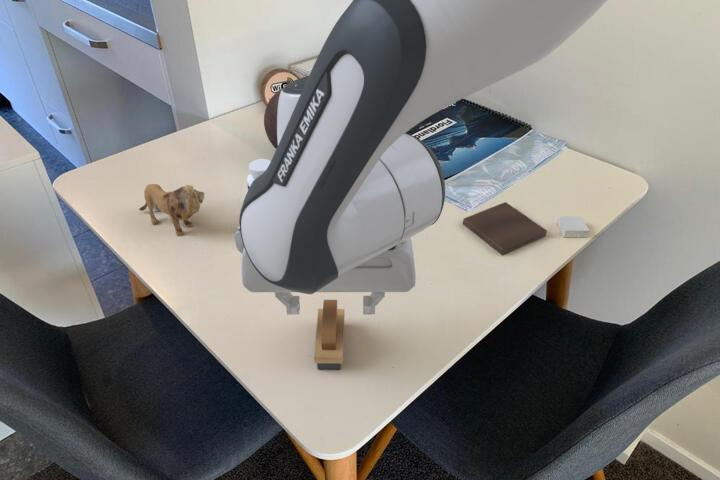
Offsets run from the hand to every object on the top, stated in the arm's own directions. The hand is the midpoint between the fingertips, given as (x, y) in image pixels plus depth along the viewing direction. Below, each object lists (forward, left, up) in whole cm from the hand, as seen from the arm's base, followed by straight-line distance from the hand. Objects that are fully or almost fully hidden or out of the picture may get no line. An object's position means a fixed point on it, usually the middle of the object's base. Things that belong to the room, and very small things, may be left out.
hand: (331, 311), depth 65 cm
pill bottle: (+34, -5, -7) cm, 35 cm away
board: (+8, -38, -7) cm, 39 cm away
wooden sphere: (+49, -20, -7) cm, 53 cm away
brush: (+1, 0, -7) cm, 7 cm away
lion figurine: (+39, +10, -7) cm, 40 cm away
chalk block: (+1, -48, -7) cm, 49 cm away
